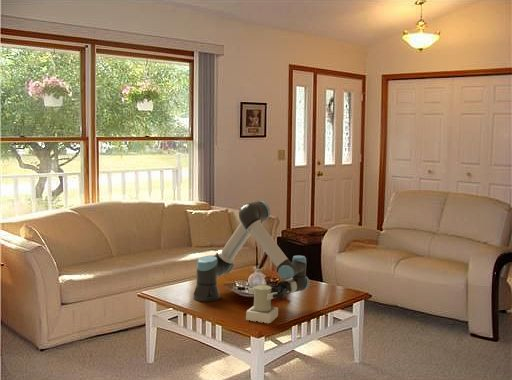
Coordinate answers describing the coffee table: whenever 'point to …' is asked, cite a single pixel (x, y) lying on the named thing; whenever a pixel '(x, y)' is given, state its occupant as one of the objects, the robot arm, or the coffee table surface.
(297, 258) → the robot arm
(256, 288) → the can
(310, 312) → the coffee table surface
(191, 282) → the coffee table surface
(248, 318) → the stand
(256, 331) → the coffee table surface
